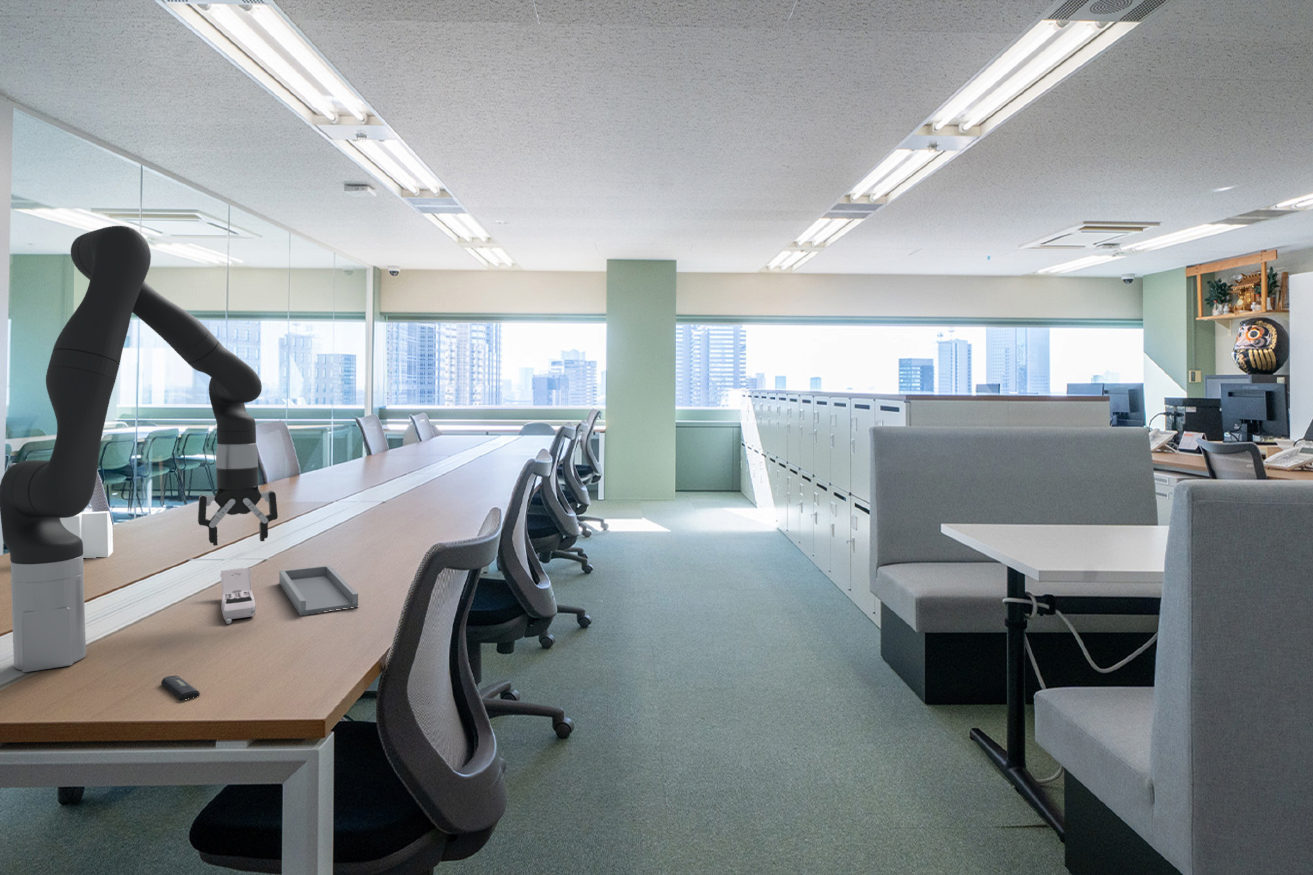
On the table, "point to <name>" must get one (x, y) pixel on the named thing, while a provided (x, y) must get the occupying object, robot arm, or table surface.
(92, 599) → the table surface
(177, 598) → the table surface
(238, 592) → the mobile phone
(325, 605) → the phone dock
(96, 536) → the corner bracket
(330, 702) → the table surface
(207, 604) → the table surface
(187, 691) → the dark grey rounded bar
